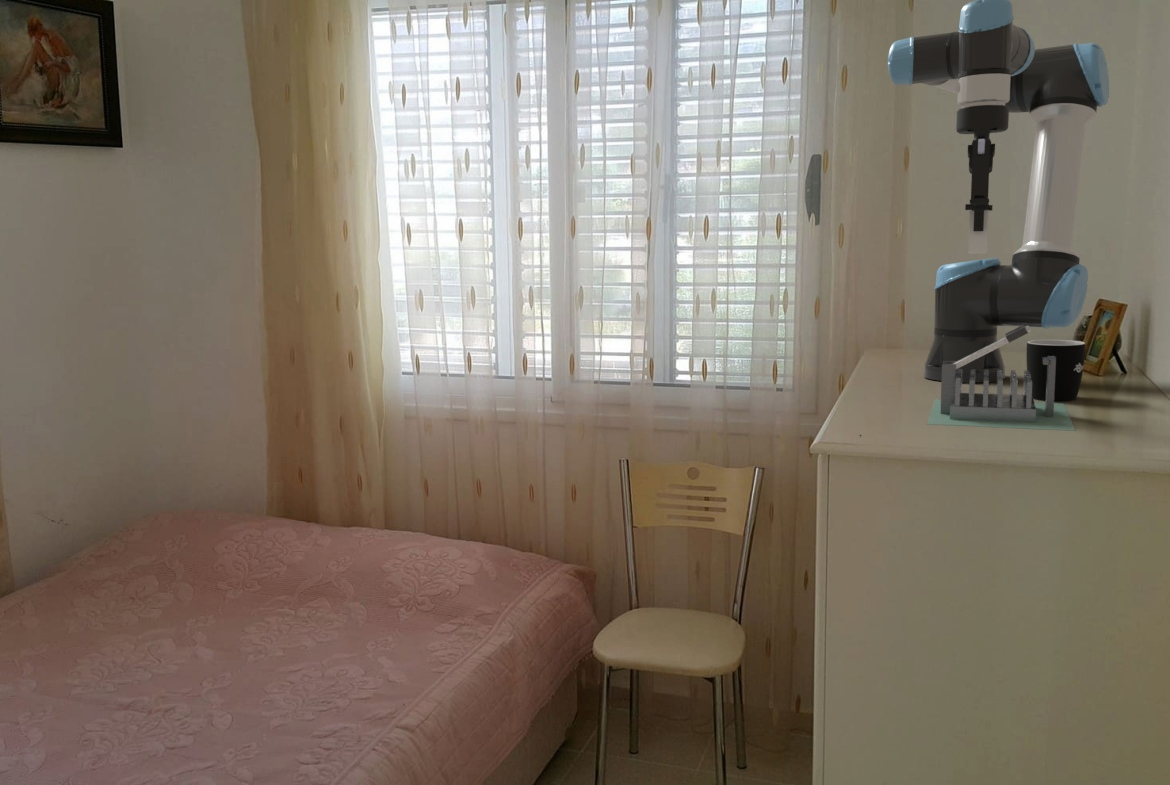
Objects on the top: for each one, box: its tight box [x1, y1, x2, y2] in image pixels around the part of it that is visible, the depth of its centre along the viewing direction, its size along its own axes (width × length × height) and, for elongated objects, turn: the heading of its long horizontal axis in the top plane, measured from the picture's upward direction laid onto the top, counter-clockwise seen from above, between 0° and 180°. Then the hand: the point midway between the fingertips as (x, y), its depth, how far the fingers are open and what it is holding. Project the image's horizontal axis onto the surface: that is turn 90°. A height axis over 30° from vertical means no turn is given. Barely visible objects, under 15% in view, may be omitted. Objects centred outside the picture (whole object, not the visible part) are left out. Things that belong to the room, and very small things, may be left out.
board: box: [927, 398, 1076, 432], centre depth 159 cm, size 24×20×1 cm
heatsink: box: [940, 356, 1056, 423], centre depth 158 cm, size 14×16×9 cm
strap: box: [953, 325, 1032, 369], centre depth 158 cm, size 5×14×1 cm, turn 69°
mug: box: [1026, 339, 1086, 403], centre depth 172 cm, size 12×9×10 cm
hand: (977, 252), depth 160 cm, fingers open, 9 cm apart
